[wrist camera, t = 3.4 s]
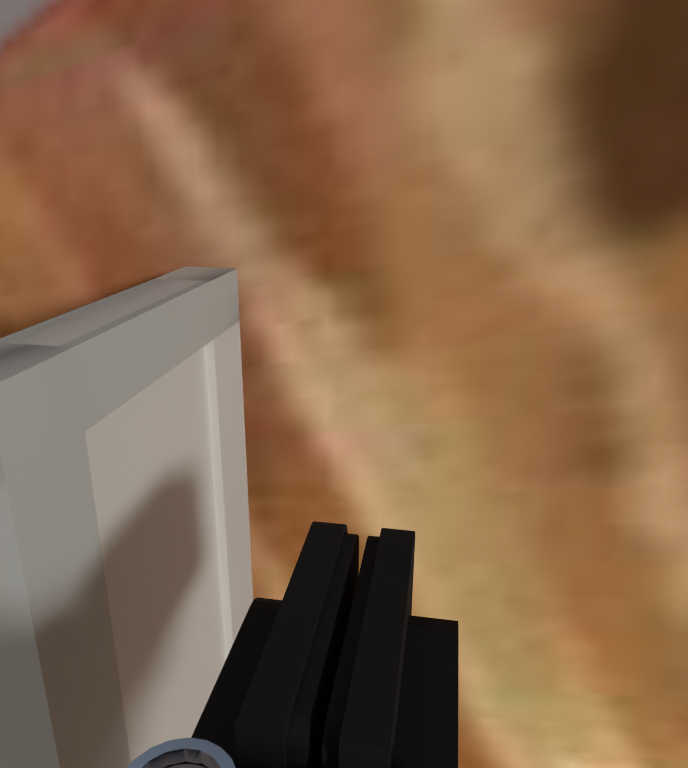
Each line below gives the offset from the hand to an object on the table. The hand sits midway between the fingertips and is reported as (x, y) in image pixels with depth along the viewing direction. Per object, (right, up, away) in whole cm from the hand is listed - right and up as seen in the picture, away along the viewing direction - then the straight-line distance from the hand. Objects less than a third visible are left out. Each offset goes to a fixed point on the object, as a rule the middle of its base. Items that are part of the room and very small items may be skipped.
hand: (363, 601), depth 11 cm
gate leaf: (-4, -1, +10) cm, 11 cm away
